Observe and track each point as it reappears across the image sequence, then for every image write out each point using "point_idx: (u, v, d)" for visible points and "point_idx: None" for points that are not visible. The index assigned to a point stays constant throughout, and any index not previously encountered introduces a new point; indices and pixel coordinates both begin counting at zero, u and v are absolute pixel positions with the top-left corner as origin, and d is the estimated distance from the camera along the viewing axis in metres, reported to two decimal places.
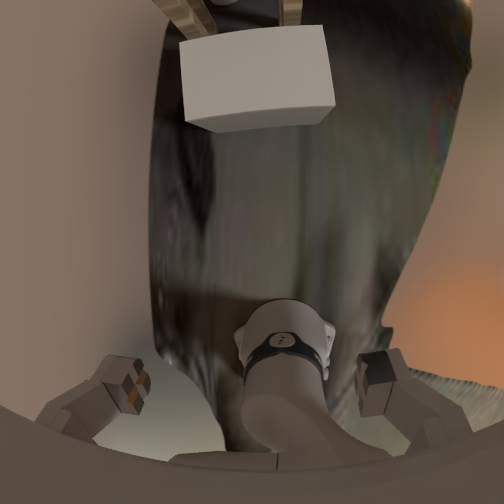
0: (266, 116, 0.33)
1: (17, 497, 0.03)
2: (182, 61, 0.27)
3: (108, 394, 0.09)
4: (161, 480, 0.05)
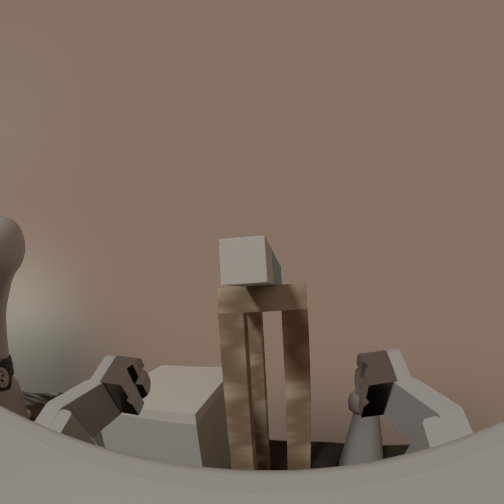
0: None
1: (17, 497, 0.03)
2: (213, 367, 0.36)
3: (108, 394, 0.09)
4: (161, 480, 0.05)
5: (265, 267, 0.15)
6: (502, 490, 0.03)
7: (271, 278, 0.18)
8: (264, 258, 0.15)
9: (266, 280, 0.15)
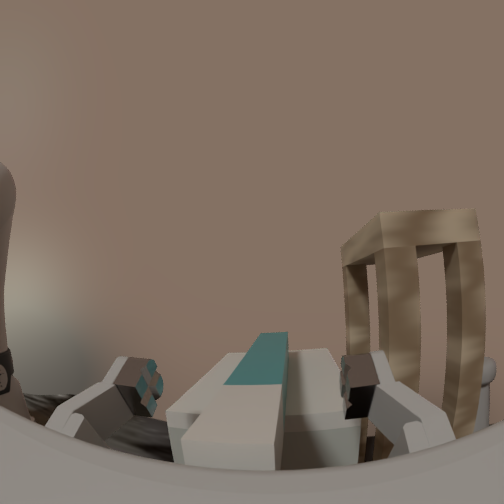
0: None
1: (17, 497, 0.03)
2: (300, 350, 0.28)
3: (121, 396, 0.09)
4: (161, 480, 0.05)
5: None
6: (502, 490, 0.03)
7: (281, 448, 0.09)
8: None
9: None
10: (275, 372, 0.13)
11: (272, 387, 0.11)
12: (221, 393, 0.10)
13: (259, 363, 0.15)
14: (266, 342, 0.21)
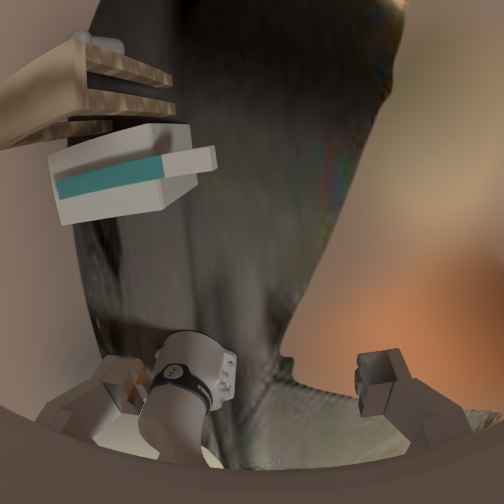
0: None
1: (17, 497, 0.03)
2: (51, 174, 0.32)
3: (108, 394, 0.09)
4: (161, 480, 0.05)
5: (212, 146, 0.28)
6: (502, 490, 0.03)
7: (183, 150, 0.29)
8: (212, 146, 0.28)
9: None
10: (145, 161, 0.28)
11: (165, 157, 0.28)
12: (174, 174, 0.28)
13: (131, 173, 0.29)
14: (86, 185, 0.29)
